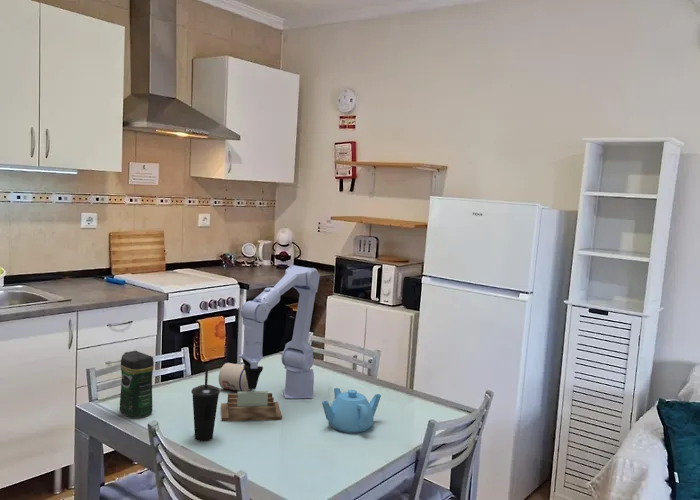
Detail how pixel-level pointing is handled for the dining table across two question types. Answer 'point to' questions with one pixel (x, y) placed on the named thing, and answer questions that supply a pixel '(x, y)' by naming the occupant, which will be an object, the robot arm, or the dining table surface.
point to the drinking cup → (204, 409)
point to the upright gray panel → (252, 399)
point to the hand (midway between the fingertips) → (251, 384)
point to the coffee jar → (136, 384)
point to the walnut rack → (249, 410)
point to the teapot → (351, 411)
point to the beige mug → (233, 377)
